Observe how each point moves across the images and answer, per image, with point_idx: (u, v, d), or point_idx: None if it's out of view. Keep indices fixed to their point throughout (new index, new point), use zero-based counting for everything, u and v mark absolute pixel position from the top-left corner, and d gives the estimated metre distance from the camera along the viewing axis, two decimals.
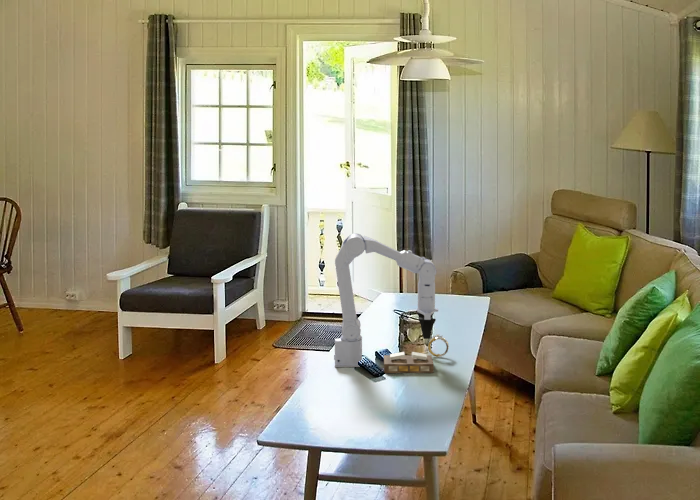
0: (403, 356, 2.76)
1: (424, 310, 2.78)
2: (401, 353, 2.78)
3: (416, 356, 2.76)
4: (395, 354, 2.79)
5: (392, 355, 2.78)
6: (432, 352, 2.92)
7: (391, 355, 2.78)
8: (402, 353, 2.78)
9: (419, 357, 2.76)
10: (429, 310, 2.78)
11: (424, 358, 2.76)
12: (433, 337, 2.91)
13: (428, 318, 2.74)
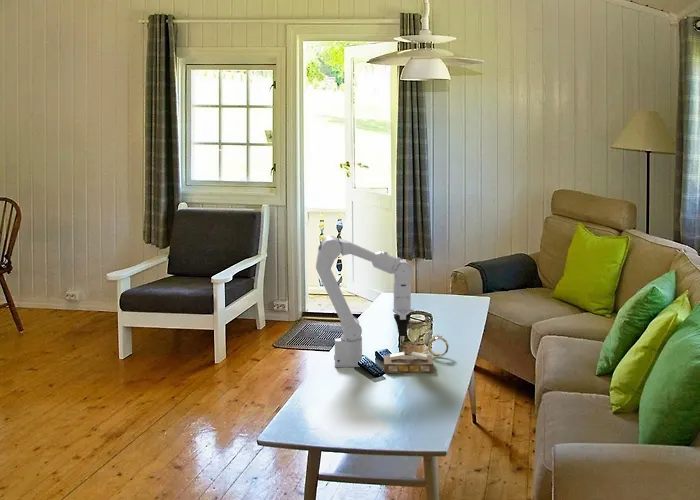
0: (403, 356, 2.76)
1: (400, 310, 2.80)
2: (401, 353, 2.78)
3: (416, 356, 2.76)
4: (395, 354, 2.79)
5: (392, 355, 2.78)
6: (432, 352, 2.92)
7: (391, 355, 2.78)
8: (402, 353, 2.78)
9: (419, 357, 2.76)
10: (405, 310, 2.80)
11: (424, 358, 2.76)
12: (433, 337, 2.91)
13: (403, 318, 2.76)
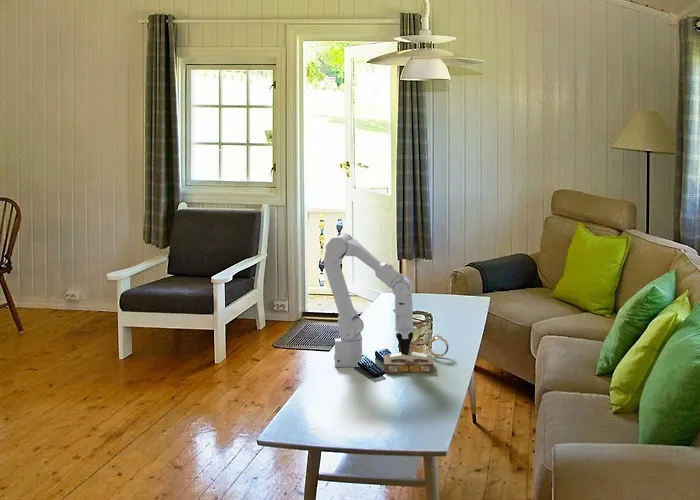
0: (403, 356, 2.76)
1: (402, 329, 2.74)
2: None
3: (416, 356, 2.76)
4: (395, 354, 2.79)
5: (392, 355, 2.78)
6: (432, 352, 2.92)
7: (391, 355, 2.78)
8: None
9: (419, 357, 2.76)
10: (407, 329, 2.74)
11: (424, 358, 2.76)
12: (433, 337, 2.91)
13: (406, 337, 2.70)
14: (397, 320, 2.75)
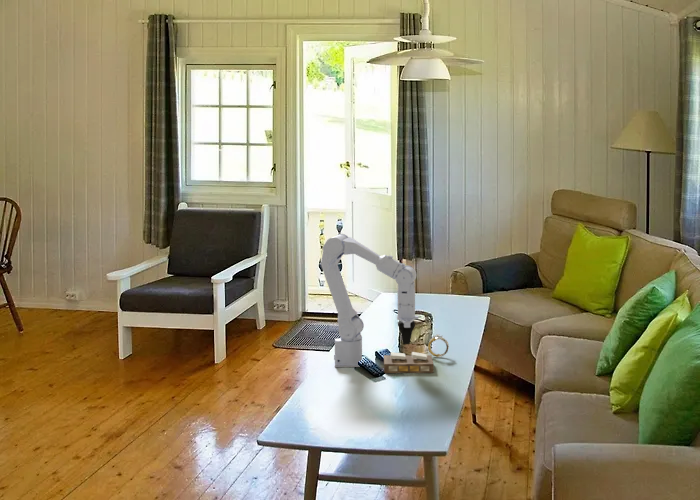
0: (403, 358, 2.77)
1: (404, 318, 2.73)
2: (402, 354, 2.78)
3: (416, 356, 2.76)
4: (396, 354, 2.79)
5: (393, 354, 2.78)
6: (432, 352, 2.92)
7: (392, 353, 2.78)
8: (403, 354, 2.78)
9: (419, 357, 2.76)
10: (409, 318, 2.73)
11: (424, 358, 2.76)
12: (433, 337, 2.91)
13: (408, 326, 2.69)
14: (399, 309, 2.74)
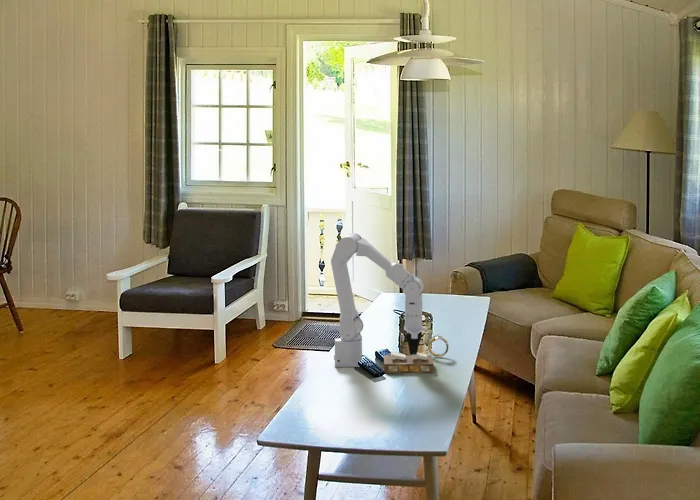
0: (404, 358, 2.77)
1: (411, 329, 2.74)
2: (403, 355, 2.78)
3: (416, 356, 2.76)
4: (396, 353, 2.79)
5: (393, 353, 2.78)
6: (432, 352, 2.92)
7: (392, 353, 2.78)
8: (403, 355, 2.78)
9: (419, 357, 2.76)
10: (416, 329, 2.74)
11: (424, 358, 2.76)
12: (433, 337, 2.91)
13: (415, 337, 2.70)
14: (407, 320, 2.75)
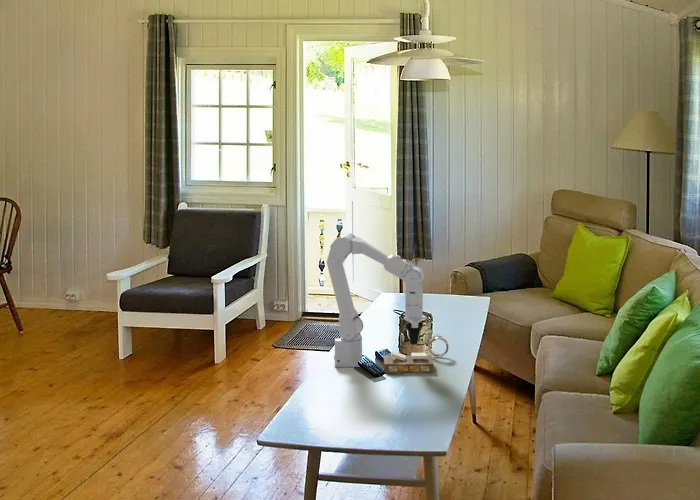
0: (403, 359, 2.77)
1: (411, 318, 2.73)
2: (403, 355, 2.79)
3: (416, 356, 2.76)
4: (397, 353, 2.79)
5: (394, 353, 2.78)
6: (432, 352, 2.92)
7: (393, 352, 2.78)
8: (403, 356, 2.78)
9: (419, 357, 2.76)
10: (417, 318, 2.73)
11: (424, 357, 2.76)
12: (433, 337, 2.91)
13: (415, 326, 2.69)
14: (407, 309, 2.74)
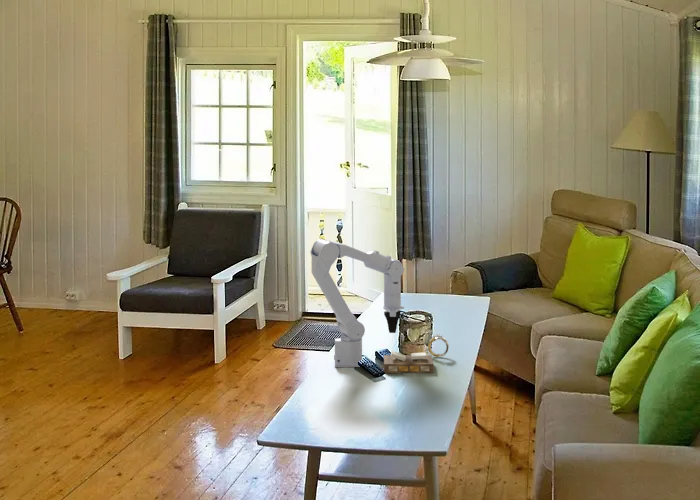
0: (403, 359, 2.77)
1: (390, 307, 2.84)
2: (403, 356, 2.79)
3: (415, 357, 2.76)
4: (397, 353, 2.79)
5: (394, 353, 2.78)
6: (432, 352, 2.92)
7: (393, 352, 2.78)
8: (403, 356, 2.78)
9: (419, 357, 2.76)
10: (395, 307, 2.84)
11: (424, 357, 2.76)
12: (433, 337, 2.91)
13: (393, 315, 2.80)
14: (386, 299, 2.85)
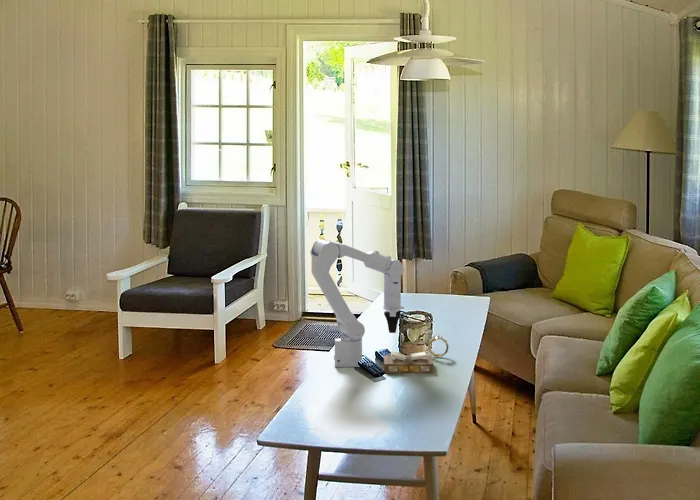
0: (403, 359, 2.77)
1: (390, 307, 2.84)
2: (403, 355, 2.79)
3: (415, 357, 2.76)
4: (397, 353, 2.79)
5: (394, 353, 2.78)
6: (432, 352, 2.92)
7: (393, 352, 2.78)
8: (403, 356, 2.78)
9: (419, 357, 2.76)
10: (395, 307, 2.84)
11: (424, 356, 2.76)
12: (433, 337, 2.91)
13: (393, 315, 2.80)
14: (386, 299, 2.85)
